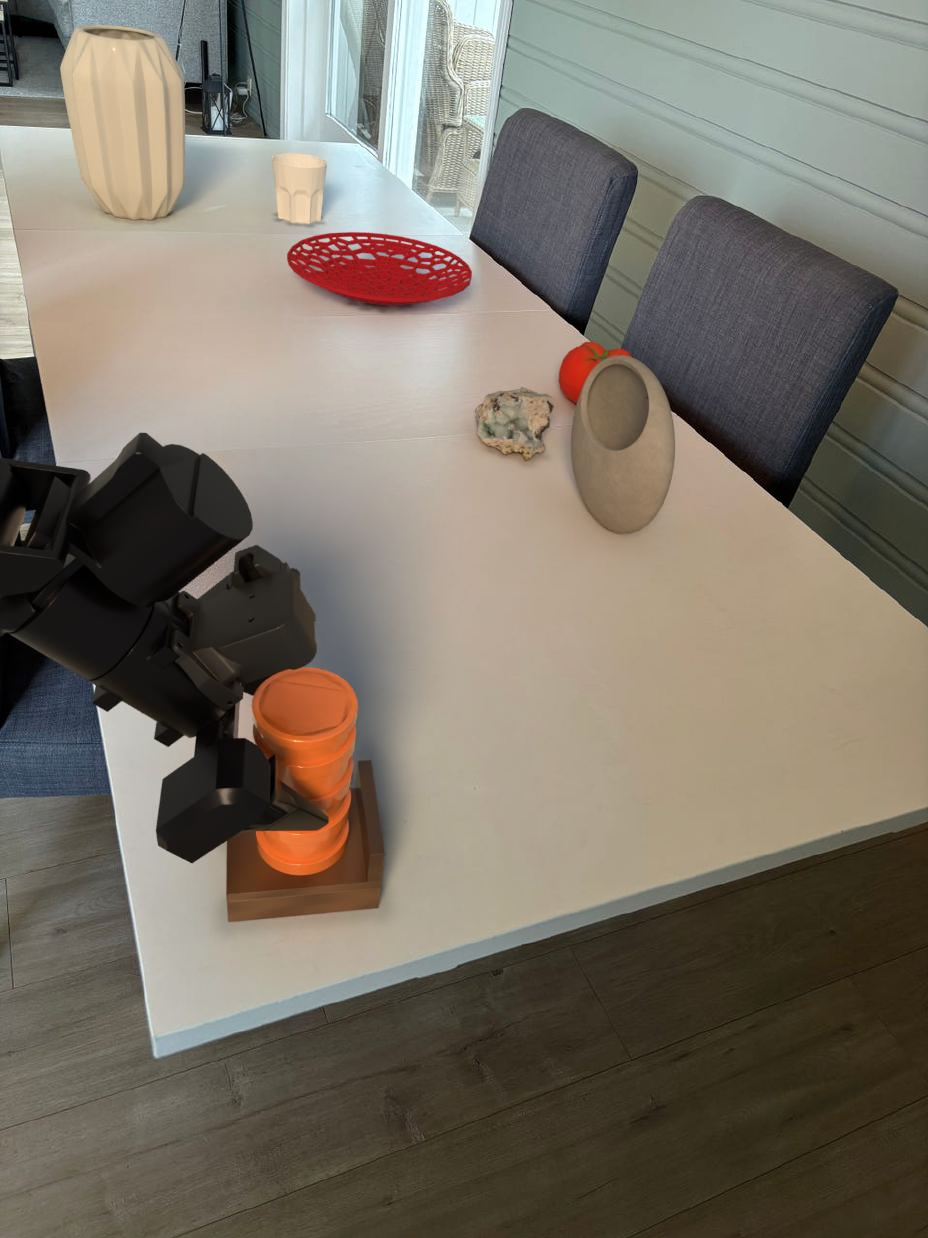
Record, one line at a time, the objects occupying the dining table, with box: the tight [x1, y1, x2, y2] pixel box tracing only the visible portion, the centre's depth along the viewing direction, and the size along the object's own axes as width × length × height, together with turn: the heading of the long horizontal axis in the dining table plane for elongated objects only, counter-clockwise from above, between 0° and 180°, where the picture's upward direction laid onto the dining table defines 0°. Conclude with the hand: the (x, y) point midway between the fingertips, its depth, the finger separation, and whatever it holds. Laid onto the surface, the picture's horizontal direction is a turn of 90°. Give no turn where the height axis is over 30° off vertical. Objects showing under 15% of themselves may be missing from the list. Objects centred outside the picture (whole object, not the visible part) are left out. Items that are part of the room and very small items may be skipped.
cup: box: [271, 152, 328, 225], centre depth 170 cm, size 10×10×10 cm
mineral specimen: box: [474, 386, 556, 461], centre depth 114 cm, size 10×8×10 cm
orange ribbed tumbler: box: [251, 666, 359, 875], centre depth 58 cm, size 6×6×13 cm
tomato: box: [558, 341, 632, 405], centre depth 125 cm, size 11×11×8 cm
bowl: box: [286, 231, 473, 306], centre depth 147 cm, size 29×29×5 cm
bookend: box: [225, 759, 386, 923], centre depth 62 cm, size 10×8×6 cm
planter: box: [570, 355, 676, 535], centre depth 98 cm, size 18×7×19 cm, turn 20°
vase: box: [59, 24, 186, 221], centre depth 156 cm, size 20×20×28 cm
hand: (321, 765), depth 58 cm, fingers open, 9 cm apart
